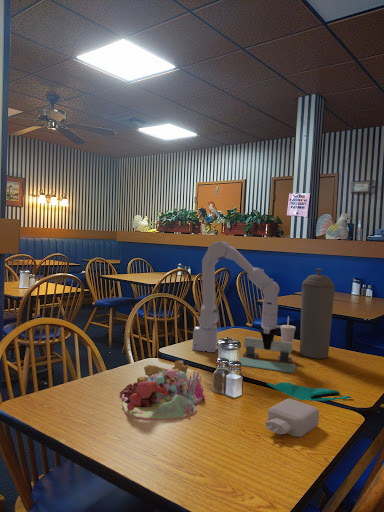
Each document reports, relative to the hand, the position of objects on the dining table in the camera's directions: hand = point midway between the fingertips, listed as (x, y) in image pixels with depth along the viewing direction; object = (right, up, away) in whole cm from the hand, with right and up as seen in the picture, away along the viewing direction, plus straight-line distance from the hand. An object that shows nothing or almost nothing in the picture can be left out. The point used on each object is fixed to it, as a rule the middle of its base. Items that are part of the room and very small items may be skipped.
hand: (267, 348), depth 157 cm
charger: (-6, -7, -59) cm, 59 cm away
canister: (+20, -5, +6) cm, 21 cm away
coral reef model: (-37, -5, -44) cm, 58 cm away
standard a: (-6, -3, +2) cm, 7 cm away
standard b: (+6, -4, -2) cm, 8 cm away
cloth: (+5, -7, -34) cm, 35 cm away
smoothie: (+10, -4, +14) cm, 18 cm away
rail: (0, 0, 0) cm, 0 cm away
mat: (-3, -4, -9) cm, 11 cm away
